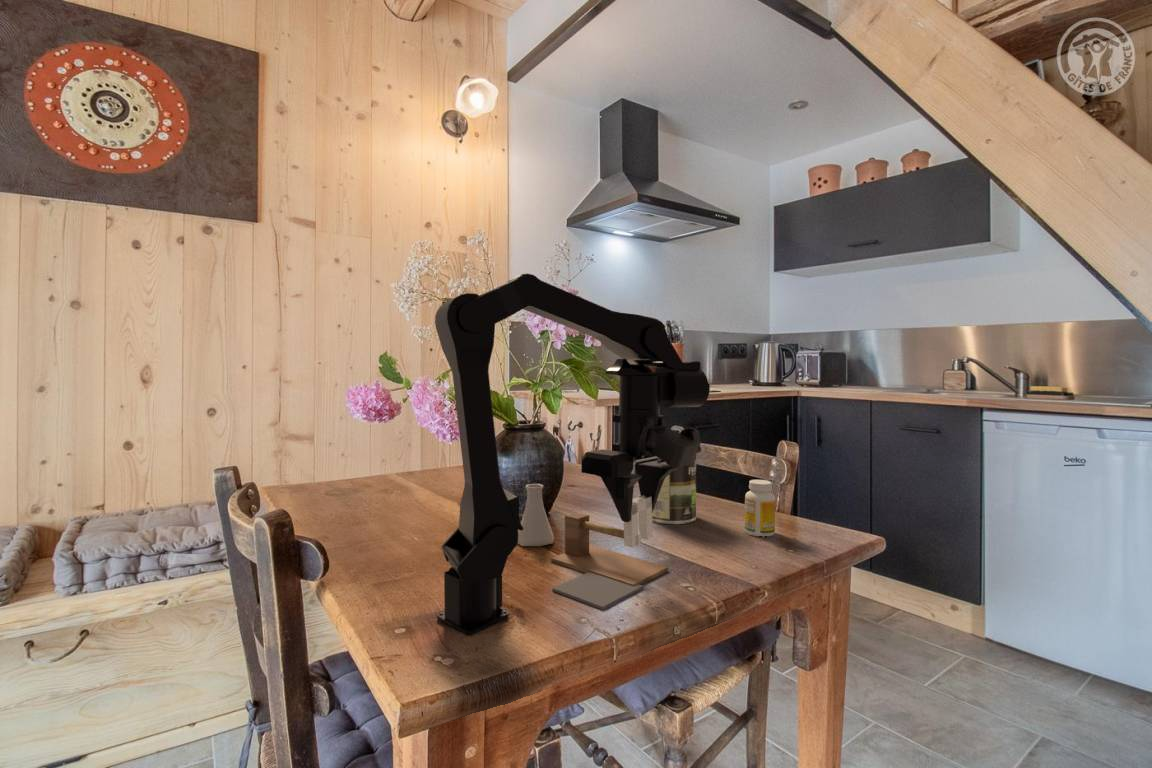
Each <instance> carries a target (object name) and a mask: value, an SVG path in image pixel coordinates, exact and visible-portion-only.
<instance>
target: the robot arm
mask: <svg viewBox="0 0 1152 768" xmlns="http://www.w3.org/2000/svg"><path fill="white" fill-rule="evenodd" d="M521 310H524V311H526V312H529V313H532V314H534V315H537V316H540V317H541V318H544V319H548V320H549V321H552V322H555V323H557V324H560V325H562V326H564V327H567V328H569V329H573V330H575V331H577V332H580V333H582V334H585V335H588V336H590V337H592V338H594V339H595V340H597V341H598V342H600V343H601V344H602V345H603V346H604V348H606V349H607V350H609V351H610V352H612V353H613V354H615V355H616V356H618V357H620V358H617V359H616V360H615V361H614V363H613V364H612V365H611V366H610V367H608V368H607V369H606V370H605V375H606V376H611V377H613V376H615V377H617V376H619V385H618V386H619V388H618V389H619V390H618V391H619V393H618V394H619V395H618V396H619V400H618V402H619V403H618V414H612V422H613V423H618V442H616V443H612V446H611V447H612V448H611V449H612V450H608V449H597V450H591V451H586V452H585V453H584V454H583V455H582V457H581V459H580V466H581V467H580V472H581V473H582V474H586V475H593V476H597V477H598V478H599V477H600V479H601V480H602V482H603V484H604V486H605V487H606V490H607V492H608V493H609V495H610V497H611V499H612V501H613V504H614V506H615V508H616V510H617V513H618V515H619V517H620V519H621V521H622V522H623V523H624V522H629V521H630V517H631V511H632V500H633V499H634V498H633V497H634V487H635V486H636V484H637V483H638V489H639V494H640V495H639V496H642V495H647V496H652V513H653V510H654V507H655V504H656V501H657V498H658V495H659V492H660V489H661V487H662V484H663V482H664V479H665V478H666V477H667V476H668V475H669V474H670V473H671V472H673V471H674V470H676V469H677V468H680V467H681V466H684V465H688V466H689V465H691V463H692V461H693V458H694V455H695V453H697V454H700V453H701V452H702V446H701V434H700V430H698V429H696V428H694V427H690V426H689V427H685V428H682V430H681V431H680V430H678V429H676V430H674V429H671V428H669V426H668V418H666V415H661V414H660V412H661V411H660V410H661V409H660V408H661V406H663V407H665V408H698V407H699V408H700V407H702V406H703V405H705V403H706V402H707V401H708V399H709V395H710V391H711V389H710V388H711V387H710V383H709V380H708V377H707V375H706V373H705V372H704V371H703V370H702V369H701V361H691V360H690V361H689V360H687V361H682V359H681V357H680V355H679V353H678V352H677V351H676V348H675V346H674V345H673V343H672V342H671V340H670V338H669V337H668V336H669V335H668V331H667V330H666V325H665V324H664V323H663V322H662V320H659V319H658V318H655V317H650V316H645V315H640V314H635V313H629V312H628V313H626V312H621V311H615V310H612V309H609V308H607V307H604V306H602V305H600V304H597V303H594V302H592V301H590V300H587V299H586V298H583V297H581V296H578V295H576V294H574V293H572V292H570V291H568V290H564V289H562V288H560V287H559V286H555V285H553V284H550V283H548V282H547V281H543V280H541V279H540V278H539V277H537V276H536V275H534V274H531V273H528V272H527V273H523V274H519V275H517V276H515V277H513V278H511V279H509V280H508V281H506V283H504V284H502V285H500V286H497V287H495V288H492V289H490V290H489V291H486V292H484V293H483V294H480V295H478V294H477V293H470V292H469V293H468V292H467V293H462V294H459V295H458V296H454V297H452V298H451V299H448V300H446V301H444V302H443V303H442V304H441V305H440V306H439V308H438V309H437V310H436V313H435V317H434V325H435V329H436V332H437V336H438V339H439V342H440V343H439V344H440V346H441V349H442V352H443V354H444V356H445V358H446V361H447V363H448V366H449V367H450V371H451V374H452V381H453V389H454V398H455V406H456V407H455V408H456V415H457V424H458V434H459V443H460V449H461V450H460V452H461V460H462V468H463V476H464V487H463V491H462V495H461V500H460V504H459V516H458V517H459V519H458V520H459V521H458V527H457V528H456V529H455V530H454V531H453V533H452V534H451V535H450V536H449V537H448V538H447V540H446V541H444V543H443V544H442V545H441V551H442V553H443V556H444V558H445V560H446V562H447V563H448V564H449V565H450V566H451V567H449V570H447V571H444V574H443V575H444V576H443V581H444V582H443V587H444V588H443V589H444V592H443V593H444V600H443V601H444V611H442V612H439V613H437V614H436V618H437V620H439V621H440V622H442V623H444V624H446V625H448V626H450V627H452V628H454V629H455V630H457V631H460V632H461V633H463V634H465V635H471V634H473V633H475V632H478V631H480V630H482V629H485V628H487V627H489V626H491V625H494V624H496V623H498V622H500V621H502V620H505V619H507V618H509V614H510V613H509V611H508V610H505V609H503V608H502V607H503V572H504V569H505V567H506V563H507V559H508V558H509V557H508V556H509V555H511V554H512V552H513V551H514V549H515V548H516V547H518V535H519V533H518V530H521V531H522V530H523V527H522V525H521V520H520V498H519V497H518V496H516V495H515V494H513V493H512V492H510V491H509V490H507V489H505V488H503V485H502V482H501V475H500V466H499V455H498V448H497V447H498V446H497V438H496V430H495V421H494V412H493V401H492V393H491V383H490V374H489V369H490V362H491V357H492V353H493V350H494V345H495V331H496V324H497V323H500V322H502V321H504V320H506V319H507V318H510V317H511V316H513V315H515V314H517V313H518V312H520V311H521ZM629 361H633V362H634V363H635V364H632V363H630V362H629ZM651 368H655V371H653V370H652V369H651Z"/></svg>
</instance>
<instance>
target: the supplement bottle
mask: <svg viewBox="0 0 1152 768" xmlns="http://www.w3.org/2000/svg"><path fill="white" fill-rule="evenodd" d="M748 489H749V491H747V492H746V493H745V496H744V531H745V533H746V534H747V535H749V536H754V537H759V536H762V538H763V537H764V538H765V536H767V537H772V536H773V535H775V533H776V495H775V494H774V493H772V492H771V491H772V489H773V482H772V481H770V480H767V479H750V480H749V483H748Z"/></svg>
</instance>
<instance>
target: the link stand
mask: <svg viewBox="0 0 1152 768" xmlns="http://www.w3.org/2000/svg"><path fill="white" fill-rule="evenodd" d="M590 531H592V532H597V533H601V534H605V535H608V536H612V537H616V538H619V539H623V540H624V529H621V528H616V527H612V526H608V525H603V524H600V523H596V522H592V521H590V515H589V514H587V513H582V512H578V511H577V512H573V513H569V514H566V515H564V553H561V554H558V555H556V556H553V557H551V558H550V559H551V561H550V562H551V563H554V564H557V565H560V566H561V567H562V566H563V567H567V568H569V569H572V570H576V571H577V572H578V571H579V572H581V573H583V574H586V573H588V572H592V573H595V574H598V575H601V576H604V577H607V578H610V579H613V580H616V581H619V582H623V583H626V584H629V585H632V586H634V585H636V584H639V585H643V584H645V583H647V582H650V581H651V580H653V579H656V578H657V577H659V576H661V575H663V574H665V573H666V572H668V571H669V566H666V565H662V564H659V563H656V562H653V561H652V562H651V561H648V560H645V559H641V558H638V557H634V556H631V555H628V554H627V555H626V554H624V553H621V552H620V553H619V552H616V551H613V550H610V549H606V548H602V547H599V546H595V545H592V544H590Z"/></svg>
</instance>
